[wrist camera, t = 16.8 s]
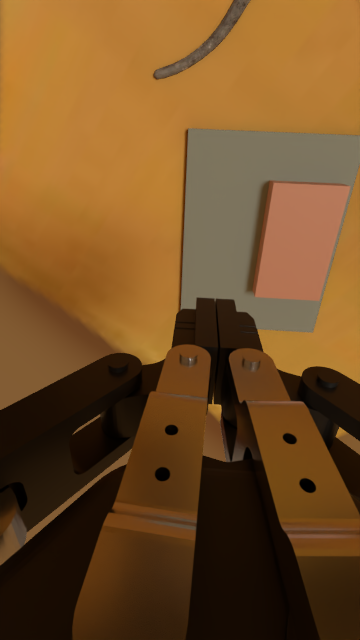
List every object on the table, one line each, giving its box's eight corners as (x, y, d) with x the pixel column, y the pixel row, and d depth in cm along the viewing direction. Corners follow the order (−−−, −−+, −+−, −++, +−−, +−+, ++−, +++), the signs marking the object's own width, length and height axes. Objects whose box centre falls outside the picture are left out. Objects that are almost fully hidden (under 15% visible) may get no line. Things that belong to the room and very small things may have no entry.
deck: (273, 182, 26) (350, 186, 25) (269, 180, 27) (342, 183, 27) (254, 297, 31) (319, 300, 30) (252, 289, 32) (313, 292, 32)
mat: (188, 128, 26) (188, 128, 26) (364, 135, 26) (367, 135, 25) (180, 321, 35) (180, 324, 35) (311, 329, 35) (312, 332, 34)
